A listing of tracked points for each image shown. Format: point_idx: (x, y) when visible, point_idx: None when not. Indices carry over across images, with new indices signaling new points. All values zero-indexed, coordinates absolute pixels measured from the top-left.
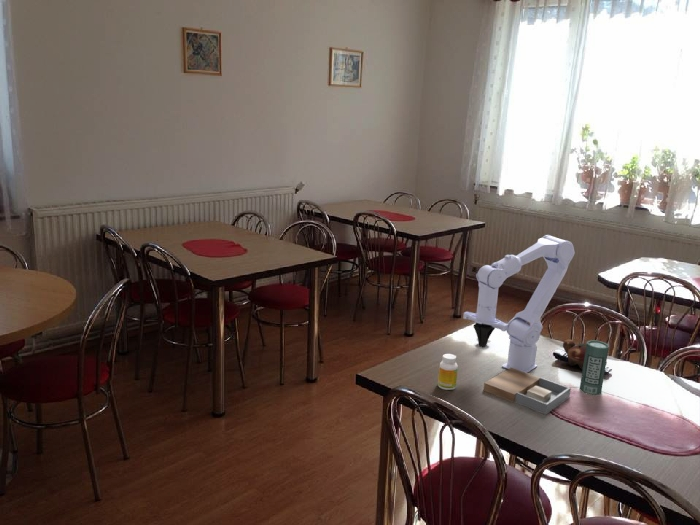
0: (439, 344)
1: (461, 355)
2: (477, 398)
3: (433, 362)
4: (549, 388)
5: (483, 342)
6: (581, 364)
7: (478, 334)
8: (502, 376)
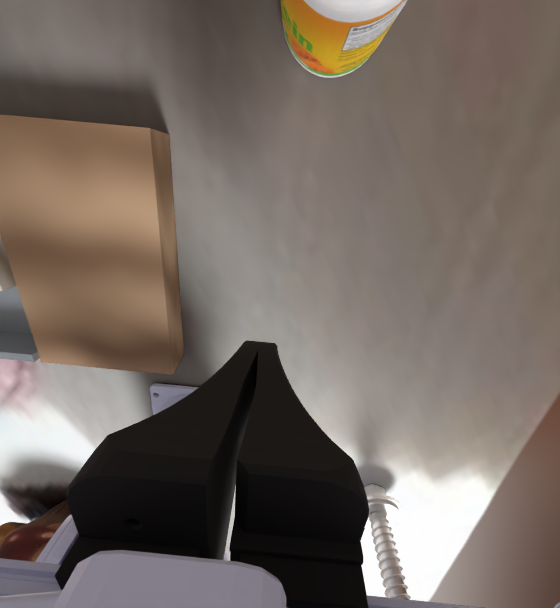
0: (519, 419)
1: (406, 388)
2: (132, 5)
3: (497, 252)
4: (12, 334)
5: (229, 362)
6: (51, 514)
7: (274, 401)
8: (140, 272)
